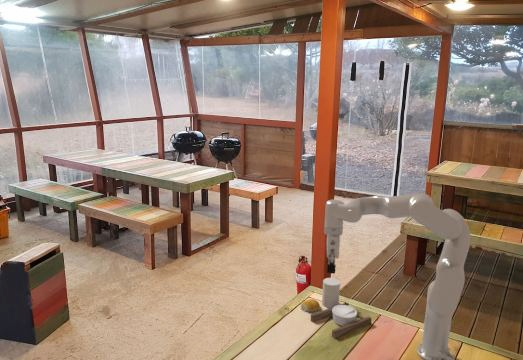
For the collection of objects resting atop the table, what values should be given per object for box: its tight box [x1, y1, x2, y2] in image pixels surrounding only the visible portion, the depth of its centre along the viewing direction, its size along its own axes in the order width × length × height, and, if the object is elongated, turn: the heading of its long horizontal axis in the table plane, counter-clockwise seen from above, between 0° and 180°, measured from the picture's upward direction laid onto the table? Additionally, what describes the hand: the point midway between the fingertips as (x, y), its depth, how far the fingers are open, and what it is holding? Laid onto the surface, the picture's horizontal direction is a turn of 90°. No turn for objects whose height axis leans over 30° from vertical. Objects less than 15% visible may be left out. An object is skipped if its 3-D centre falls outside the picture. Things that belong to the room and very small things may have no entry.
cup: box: [321, 277, 341, 309], centre depth 207 cm, size 8×8×12 cm
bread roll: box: [300, 298, 320, 313], centre depth 204 cm, size 8×9×4 cm
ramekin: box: [332, 304, 358, 327], centre depth 193 cm, size 11×11×5 cm
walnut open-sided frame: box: [310, 302, 372, 339], centre depth 192 cm, size 16×22×3 cm
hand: (330, 268), depth 179 cm, fingers open, 9 cm apart
